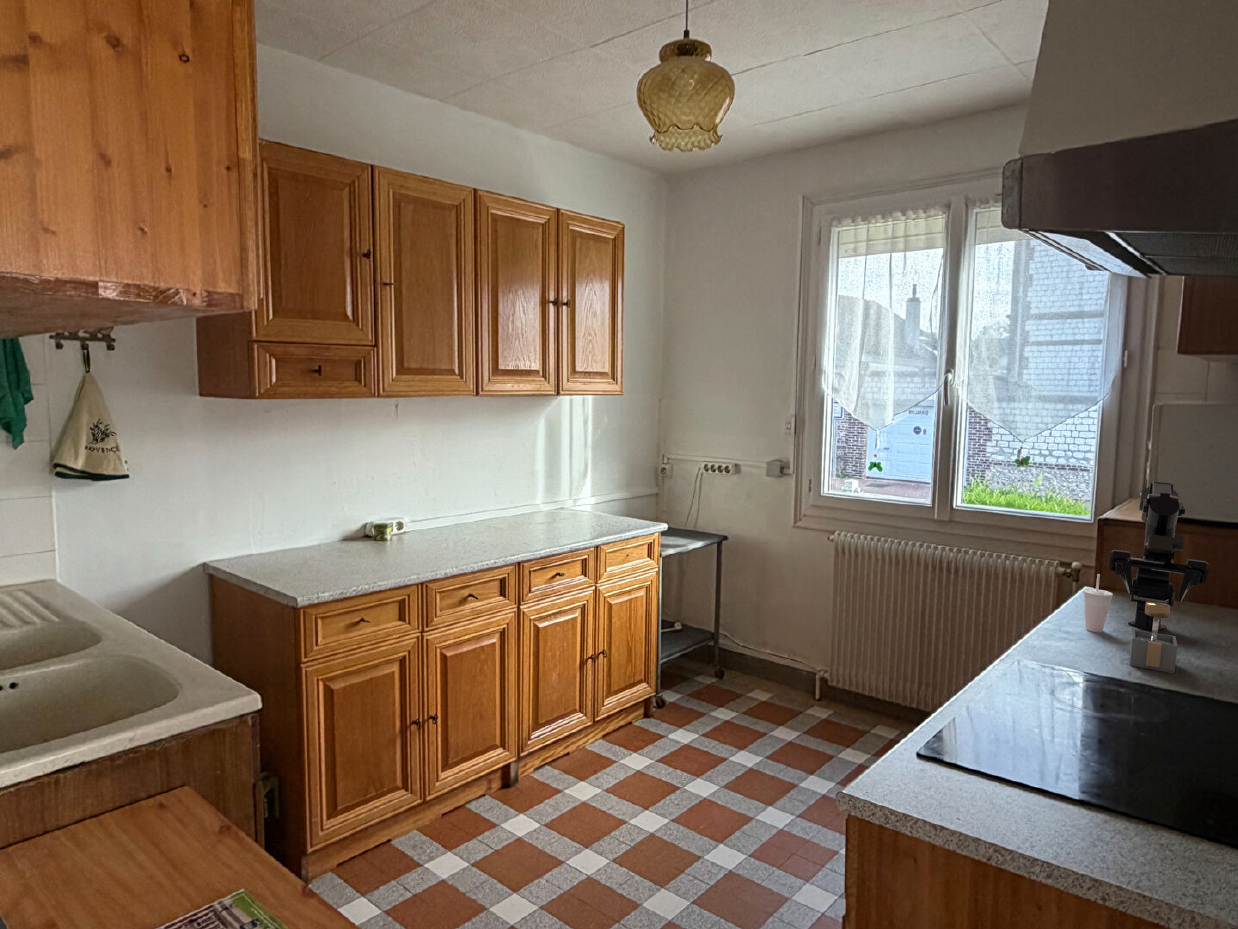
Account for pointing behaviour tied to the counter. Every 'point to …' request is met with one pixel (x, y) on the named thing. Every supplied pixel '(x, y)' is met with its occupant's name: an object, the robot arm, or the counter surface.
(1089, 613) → the smoothie
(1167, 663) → the grey open box
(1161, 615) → the plunger
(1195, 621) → the counter surface
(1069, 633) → the counter surface
